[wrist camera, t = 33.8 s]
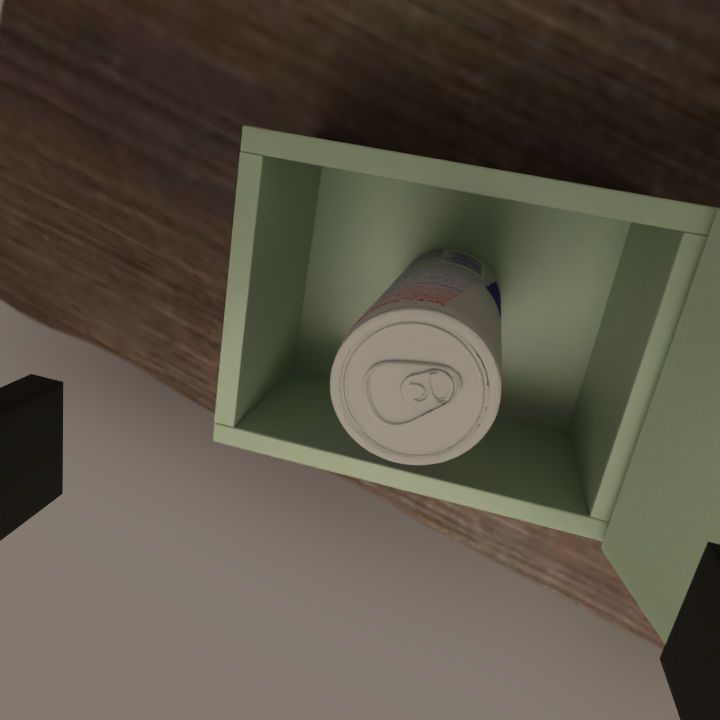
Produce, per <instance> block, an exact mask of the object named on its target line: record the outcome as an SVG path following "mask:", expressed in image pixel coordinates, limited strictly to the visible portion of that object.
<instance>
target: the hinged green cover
mask: <svg viewBox="0 0 720 720" xmlns="http://www.w3.org/2000/svg"><path fill="white" fill-rule="evenodd" d="M707 542H712V543H716V544H720V209H718V210H717V213H716V216H715V219H714V222H713V224H712V227H711V230H710V233H709V236H708V239H707V242H706V245H705V248H704V250H703V253H702V256H701V259H700V262H699V265H698V268H697V271H696V274H695V277H694V279H693V282H692V285H691V288H690V291H689V294H688V297H687V300H686V303H685V305H684V308H683V311H682V314H681V317H680V320H679V323H678V326H677V329H676V332H675V334H674V337H673V340H672V343H671V346H670V349H669V352H668V355H667V358H666V360H665V363H664V366H663V369H662V372H661V375H660V378H659V381H658V384H657V387H656V389H655V392H654V395H653V398H652V401H651V404H650V407H649V410H648V413H647V416H646V418H645V421H644V424H643V427H642V430H641V433H640V436H639V439H638V442H637V444H636V447H635V450H634V453H633V456H632V459H631V462H630V465H629V468H628V471H627V473H626V476H625V479H624V482H623V485H622V488H621V491H620V494H619V497H618V499H617V502H616V505H615V508H614V511H613V514H612V517H611V520H610V523H609V526H608V528H607V531H606V534H605V537H604V540H603V543H602V546H601V550H602V551H603V553H604V554H605V556H606V557H607V559H608V560H609V562H610V563H611V565H612V566H613V568H614V569H615V571H616V572H617V574H618V575H619V577H620V578H621V580H622V581H623V583H624V584H625V586H626V587H627V589H628V590H629V592H630V593H631V595H632V596H633V597H634V599H635V600H636V602H637V603H638V605H639V606H640V608H641V609H642V611H643V612H644V614H645V615H646V617H647V618H648V620H649V621H650V623H651V624H652V626H653V627H654V629H655V630H656V632H657V633H658V635H659V636H660V638H661V639H662V641H663V642H664V644H666V642H667V640H668V637H669V635H670V632H671V630H672V627H673V625H674V623H675V620H676V618H677V615H678V613H679V610H680V608H681V606H682V603H683V601H684V598H685V596H686V593H687V591H688V589H689V586H690V584H691V581H692V579H693V576H694V574H695V572H696V569H697V567H698V564H699V562H700V559H701V557H702V555H703V552H704V550H705V547H706V545H707Z"/></svg>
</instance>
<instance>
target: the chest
mask: <svg viewBox="0 0 720 720" xmlns="http://www.w3.org/2000/svg"><path fill="white" fill-rule="evenodd" d="M240 150H241V151H242V152H240V157H239V167H238V178H237V188H236V199H235V209H234V219H233V230H232V240H231V251H230V261H229V272H228V282H227V293H226V303H225V314H224V324H223V334H222V345H221V355H220V366H219V376H218V387H217V397H216V408H215V418H214V422H215V423H214V432H213V441H215V442H218V443H222V444H226V445H230V446H234V447H238V448H241V449H245V450H249V451H253V452H257V453H261V454H265V455H269V456H273V457H277V458H281V459H284V460H288V461H292V462H296V463H300V464H304V465H308V466H312V467H315V468H319V469H323V470H327V471H331V472H335V473H339V474H343V475H347V476H350V477H354V478H358V479H362V480H366V481H370V482H374V483H378V484H382V485H385V486H389V487H393V488H397V489H401V490H405V491H409V492H413V493H417V494H420V495H424V496H428V497H432V498H436V499H440V500H444V501H448V502H452V503H456V504H459V505H463V506H467V507H471V508H475V509H479V510H483V511H487V512H491V513H494V514H498V515H502V516H506V517H510V518H514V519H518V520H522V521H526V522H529V523H533V524H537V525H541V526H545V527H549V528H553V529H557V530H561V531H564V532H568V533H572V534H576V535H580V536H584V537H588V538H592V539H596V540H600V541H603V540H604V537H605V534H606V531H607V528H608V526H609V523H610V520H611V517H612V514H613V511H614V508H615V505H616V502H617V499H618V497H619V494H620V491H621V488H622V485H623V482H624V479H625V476H626V473H627V471H628V468H629V465H630V462H631V459H632V456H633V453H634V450H635V447H636V444H637V442H638V439H639V436H640V433H641V430H642V427H643V424H644V421H645V418H646V416H647V413H648V410H649V407H650V404H651V401H652V398H653V395H654V392H655V389H656V387H657V384H658V381H659V378H660V375H661V372H662V369H663V366H664V363H665V360H666V358H667V355H668V352H669V349H670V346H671V343H672V340H673V337H674V334H675V332H676V329H677V326H678V323H679V320H680V317H681V314H682V311H683V308H684V305H685V303H686V300H687V297H688V294H689V291H690V288H691V285H692V282H693V279H694V277H695V274H696V271H697V268H698V265H699V262H700V259H701V256H702V253H703V250H704V248H705V245H706V242H707V239H708V236H709V233H710V230H711V227H712V224H713V222H714V219H715V216H716V213H717V210H718V209H720V208H717V207H711V206H705V205H699V204H694V203H688V202H682V201H676V200H671V199H665V198H659V197H654V196H648V195H642V194H636V193H631V192H625V191H619V190H613V189H608V188H602V187H596V186H590V185H585V184H579V183H573V182H567V181H562V180H556V179H550V178H544V177H539V176H533V175H527V174H521V173H516V172H510V171H504V170H498V169H493V168H487V167H481V166H476V165H470V164H464V163H458V162H453V161H447V160H441V159H435V158H430V157H424V156H418V155H412V154H407V153H401V152H395V151H389V150H384V149H378V148H372V147H366V146H361V145H355V144H349V143H343V142H338V141H332V140H326V139H320V138H315V137H309V136H303V135H297V134H292V133H286V132H280V131H274V130H269V129H263V128H257V127H251V126H246V125H244V126H243V127H242V138H241V148H240ZM438 249H458V250H463V251H466V252H468V253H471V254H473V255H475V256H476V257H478V258H479V259H481V260H482V261H483V262H484V263H485V264H486V265H487V266H488V267H489V268H490V269H491V271H492V272H493V274H494V275H495V277H496V279H497V282H498V285H499V288H500V294H501V341H502V392H501V400H500V405H499V410H498V413H497V415H496V417H495V420H494V422H493V423H492V425H491V427H490V429H489V430H488V432H487V433H486V434H485V436H484V437H483V438H482V439H481V440H480V441H479V442H478V443H477V444H476V445H475V446H473V447H472V448H471V449H469V450H468V451H466V452H465V453H463V454H461V455H460V456H458V457H455V458H453V459H450V460H447V461H445V462H441V463H435V464H429V465H407V464H401V463H395V462H392V461H389V460H386V459H384V458H381V457H379V456H377V455H375V454H373V453H371V452H369V451H368V450H366V449H365V448H363V447H362V446H361V445H359V444H358V443H357V442H356V441H355V440H354V439H353V438H352V437H351V436H350V435H349V434H348V432H347V431H346V430H345V428H344V427H343V425H342V424H341V422H340V420H339V418H338V417H337V414H336V412H335V410H334V407H333V403H332V399H331V394H330V376H331V369H332V366H333V362H334V359H335V357H336V354H337V352H338V350H339V348H340V347H341V344H342V342H343V340H344V338H345V337H346V335H347V334H348V332H349V331H350V329H351V328H352V326H353V325H354V324H355V323H356V322H357V321H358V320H359V319H360V318H361V317H362V316H363V315H364V313H365V312H366V311H367V310H368V309H369V308H370V307H371V306H372V305H373V304H374V303H375V302H376V301H377V300H378V298H379V297H380V296H381V295H382V294H383V293H384V292H385V291H386V290H387V289H388V288H389V287H390V286H391V285H392V283H393V282H394V281H395V280H396V279H397V278H398V277H399V276H400V275H401V274H402V273H403V272H404V271H405V270H406V268H407V267H408V266H409V265H410V264H411V263H412V262H413V261H414V260H416V259H417V258H419V257H420V256H422V255H424V254H426V253H428V252H431V251H434V250H438Z"/></svg>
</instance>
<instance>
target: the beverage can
mask: <svg viewBox="0 0 720 720" xmlns="http://www.w3.org/2000/svg"><path fill="white" fill-rule="evenodd" d="M501 392H502V341H501V294H500V288H499V285H498V282H497V279H496V277H495V275H494V274H493V272H492V271H491V269H490V268H489V267H488V266H487V265H486V264H485V263H484V262H483V261H482V260H481V259H479V258H478V257H476V256H475V255H473V254H471V253H468V252H466V251H463V250H458V249H438V250H434V251H431V252H428V253H426V254H424V255H422V256H420V257H419V258H417V259H416V260H414V261H413V262H412V263H411V264H410V265H409V266H408V267H407V268H406V270H405V271H404V272H403V273H402V274H401V275H400V276H399V277H398V278H397V279H396V280H395V281H394V282H393V283H392V285H391V286H390V287H389V288H388V289H387V290H386V291H385V292H384V293H383V294H382V295H381V296H380V297H379V298H378V300H377V301H376V302H375V303H374V304H373V305H372V306H371V307H370V308H369V309H368V310H367V311H366V312H365V313H364V315H363V316H362V317H361V318H360V319H359V320H358V321H357V322H356V323H355V324H354V325H353V326H352V328H351V329H350V331H349V332H348V334H347V335H346V337H345V338H344V340H343V342H342V344H341V347H340V348H339V350H338V352H337V354H336V357H335V359H334V362H333V366H332V369H331V376H330V394H331V399H332V403H333V407H334V410H335V412H336V414H337V417H338V418H339V420H340V422H341V424H342V425H343V427H344V428H345V430H346V431H347V432H348V434H349V435H350V436H351V437H352V438H353V439H354V440H355V441H356V442H357V443H358V444H359V445H361V446H362V447H363V448H365V449H366V450H368V451H369V452H371V453H373V454H375V455H377V456H379V457H381V458H384V459H386V460H389V461H392V462H395V463H401V464H407V465H429V464H435V463H441V462H445V461H447V460H450V459H453V458H455V457H458V456H460V455H461V454H463V453H465V452H466V451H468V450H469V449H471V448H472V447H473V446H475V445H476V444H477V443H478V442H479V441H480V440H481V439H482V438H483V437H484V436H485V434H486V433H487V432H488V430H489V429H490V427H491V425H492V423H493V422H494V420H495V417H496V415H497V413H498V410H499V405H500V400H501Z"/></svg>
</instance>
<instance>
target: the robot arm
mask: <svg viewBox="0 0 720 720" xmlns="http://www.w3.org/2000/svg"><path fill="white" fill-rule="evenodd" d="M62 464H63V382H61V381H57V380H52V379H49V378H45V377H41V376H37V375H32V374H30V375H28V376H26V377H24V378H21V379H19V380H17V381H15V382H12V383H10V384H8V385H6V386H3V387H1V388H0V540H2V539H3V538H4V537H6V536H7V535H8V534H10V533H11V532H12V531H14V530H15V529H16V528H18V527H19V526H20V525H22V524H23V523H24V522H25V521H27V520H28V519H30V518H31V517H32V516H34V515H35V514H36V513H38V512H39V511H40V510H41V509H43V508H44V507H45V506H47V505H48V504H49V503H51V502H52V501H53V500H55V499H56V498H57V497H59V496H60V495H61V494H62V480H63V479H62V477H63V476H62V474H63V472H62V471H63V465H62ZM660 660H661V663H662V666H663V669H664V672H665V675H666V678H667V681H668V684H669V687H670V690H671V693H672V696H673V699H674V702H675V705H676V708H677V711H678V713H679V717H680V719H681V720H720V544H716V543H712V542H707V545H706V547H705V550H704V552H703V555H702V557H701V559H700V562H699V564H698V567H697V569H696V572H695V574H694V576H693V579H692V581H691V584H690V586H689V589H688V591H687V593H686V596H685V598H684V601H683V603H682V606H681V608H680V610H679V613H678V615H677V618H676V620H675V623H674V625H673V627H672V630H671V632H670V635H669V637H668V640H667V642H666V644H665V647H664V649H663V652H662V654H661V657H660Z"/></svg>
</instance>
